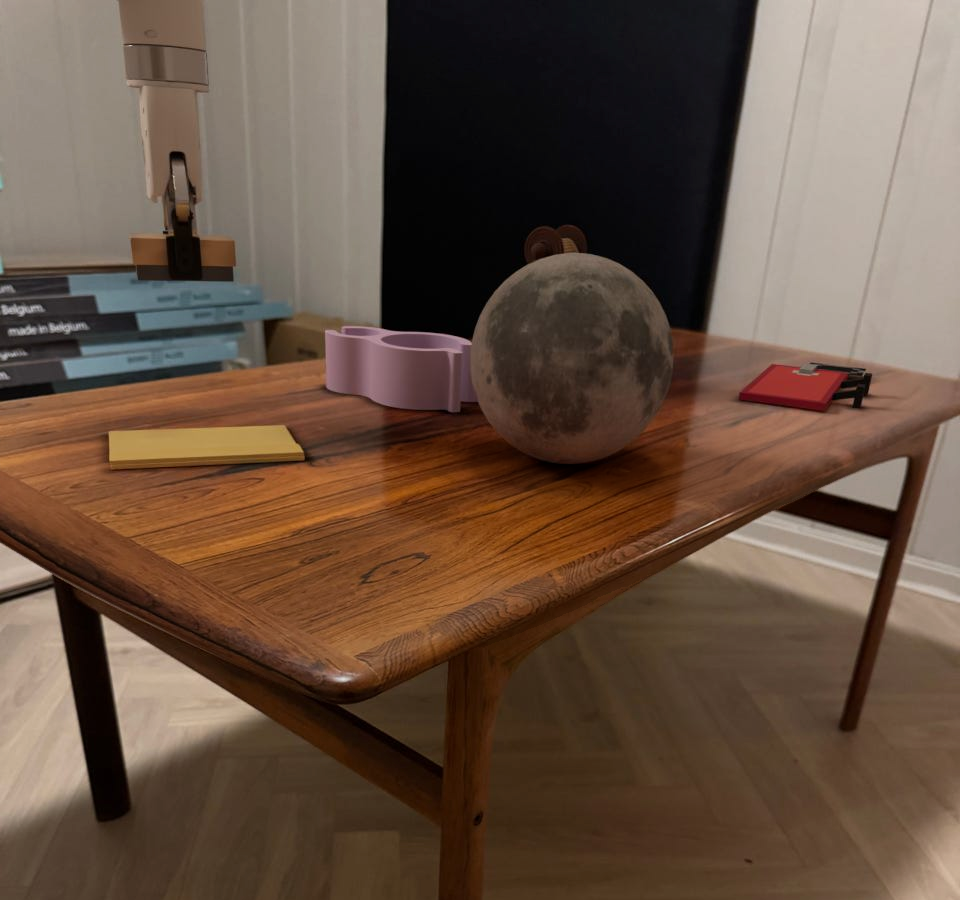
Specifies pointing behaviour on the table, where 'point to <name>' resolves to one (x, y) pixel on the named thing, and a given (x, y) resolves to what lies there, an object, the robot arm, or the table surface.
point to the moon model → (571, 358)
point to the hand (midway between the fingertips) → (184, 273)
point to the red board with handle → (807, 385)
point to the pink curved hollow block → (400, 367)
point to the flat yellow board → (201, 446)
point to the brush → (154, 259)
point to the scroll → (554, 242)
